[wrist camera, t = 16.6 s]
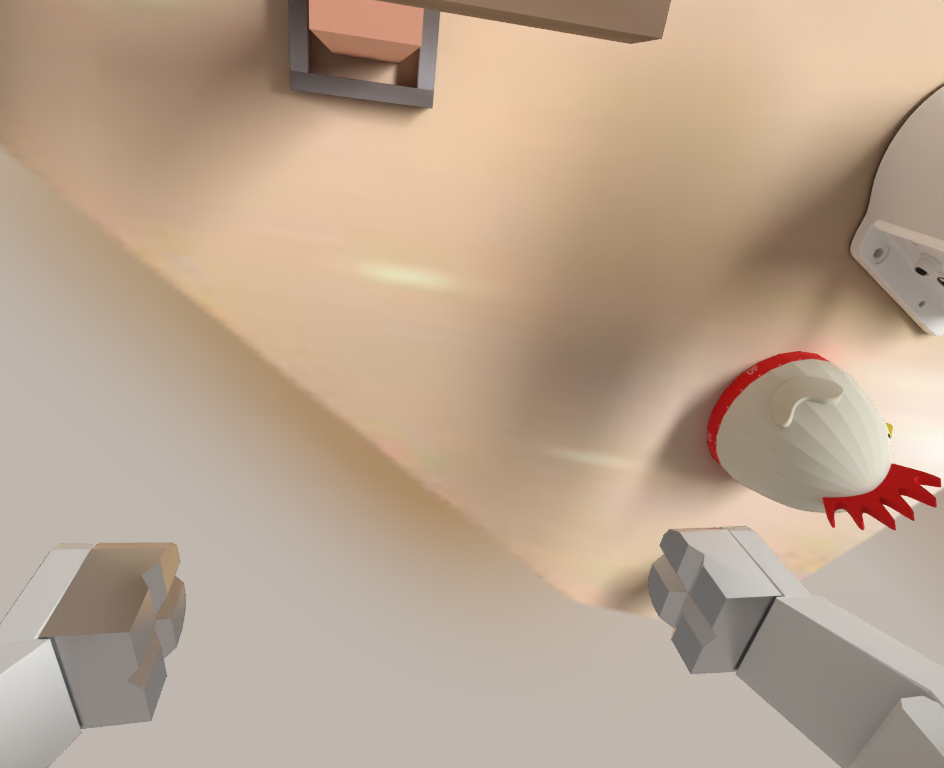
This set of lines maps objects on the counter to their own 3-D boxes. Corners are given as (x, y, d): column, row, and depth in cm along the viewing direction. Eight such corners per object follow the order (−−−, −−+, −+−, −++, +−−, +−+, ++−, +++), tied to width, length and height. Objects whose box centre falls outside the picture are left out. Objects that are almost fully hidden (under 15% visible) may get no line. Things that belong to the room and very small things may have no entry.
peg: (399, 63, 34) (421, 46, 20) (333, 53, 33) (309, 28, 19) (403, -15, 32) (430, -92, 18) (333, -27, 31) (307, -118, 18)
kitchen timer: (848, 431, 56) (994, 535, 43) (726, 494, 57) (831, 613, 44) (828, 324, 49) (994, 409, 36) (690, 398, 51) (802, 505, 38)
